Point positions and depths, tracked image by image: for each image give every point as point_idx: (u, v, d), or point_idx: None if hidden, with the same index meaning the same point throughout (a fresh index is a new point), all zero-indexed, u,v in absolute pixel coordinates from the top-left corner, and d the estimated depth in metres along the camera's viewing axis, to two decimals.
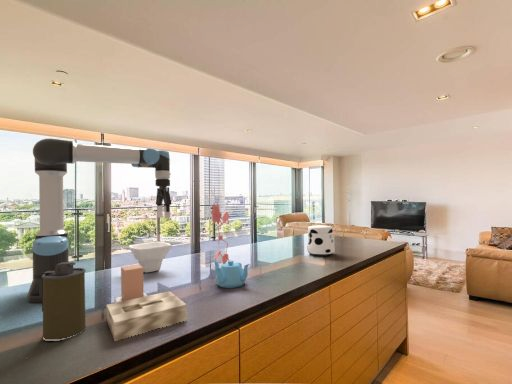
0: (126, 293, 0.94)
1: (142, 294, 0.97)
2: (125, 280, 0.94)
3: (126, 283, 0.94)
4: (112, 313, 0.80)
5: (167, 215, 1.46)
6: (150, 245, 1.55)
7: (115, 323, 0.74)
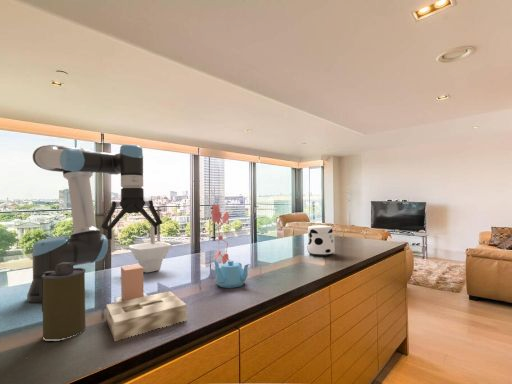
0: (126, 293, 0.94)
1: (142, 294, 0.97)
2: (125, 280, 0.94)
3: (126, 283, 0.94)
4: (112, 313, 0.80)
5: (111, 244, 0.96)
6: (150, 245, 1.55)
7: (115, 323, 0.74)
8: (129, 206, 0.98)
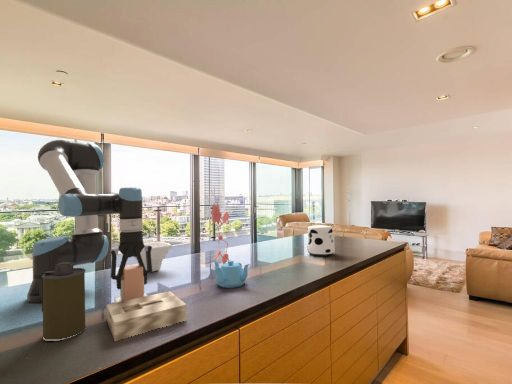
0: (126, 293, 0.94)
1: (142, 294, 0.97)
2: (125, 280, 0.94)
3: (126, 283, 0.94)
4: (112, 313, 0.80)
5: (120, 293, 0.96)
6: (150, 245, 1.55)
7: (115, 323, 0.74)
8: (128, 251, 0.96)
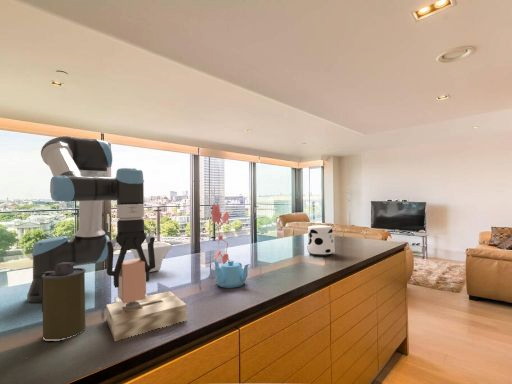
0: (125, 292, 0.80)
1: (144, 293, 0.83)
2: (124, 276, 0.80)
3: (125, 280, 0.80)
4: (112, 313, 0.80)
5: (118, 292, 0.82)
6: None
7: (115, 323, 0.74)
8: (127, 242, 0.82)
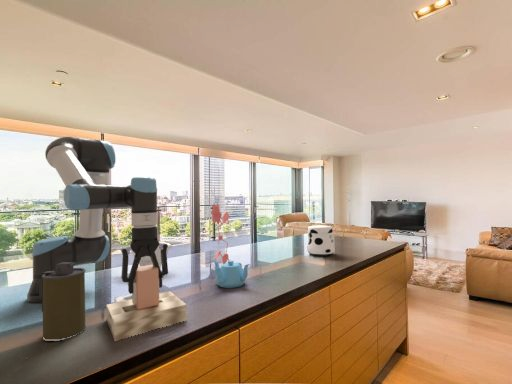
0: (139, 298, 0.82)
1: (157, 299, 0.85)
2: (138, 283, 0.82)
3: (139, 286, 0.82)
4: (112, 313, 0.80)
5: (133, 298, 0.84)
6: None
7: (115, 323, 0.74)
8: (141, 249, 0.84)
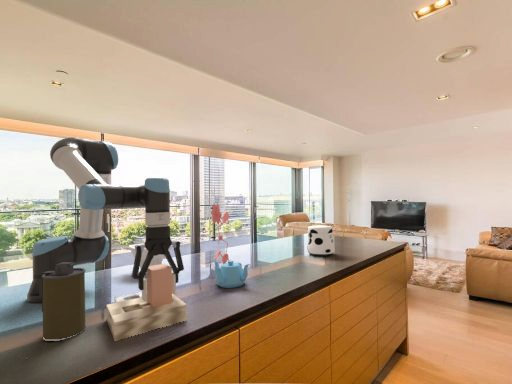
0: (154, 296, 0.84)
1: (171, 297, 0.87)
2: (153, 281, 0.85)
3: (154, 285, 0.85)
4: (112, 313, 0.80)
5: (143, 295, 0.86)
6: None
7: (115, 323, 0.74)
8: (155, 248, 0.87)
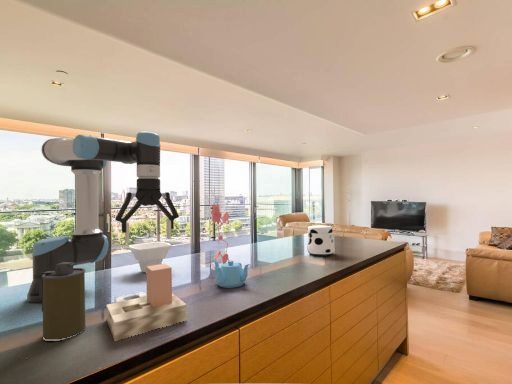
0: (154, 296, 0.84)
1: (171, 297, 0.87)
2: (153, 281, 0.85)
3: (154, 285, 0.85)
4: (112, 313, 0.80)
5: (125, 238, 0.90)
6: (150, 245, 1.55)
7: (115, 323, 0.74)
8: (145, 198, 0.92)
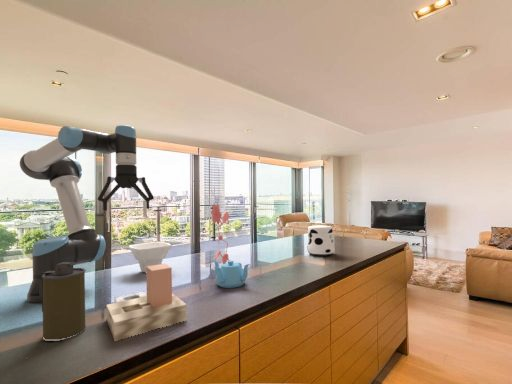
0: (154, 296, 0.84)
1: (171, 297, 0.87)
2: (153, 281, 0.85)
3: (154, 285, 0.85)
4: (112, 313, 0.80)
5: (106, 215, 1.06)
6: (150, 245, 1.55)
7: (115, 323, 0.74)
8: (123, 181, 1.08)
